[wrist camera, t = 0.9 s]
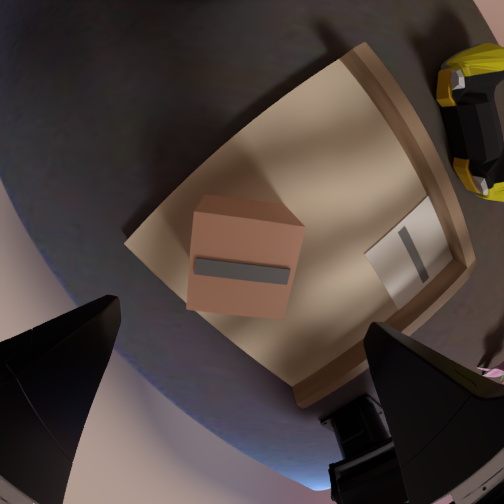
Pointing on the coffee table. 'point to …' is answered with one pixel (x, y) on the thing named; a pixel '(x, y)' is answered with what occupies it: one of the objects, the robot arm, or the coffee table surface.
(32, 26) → the coffee table surface
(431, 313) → the arena
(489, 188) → the gaming controller
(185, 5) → the coffee table surface
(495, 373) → the lily
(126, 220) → the coffee table surface
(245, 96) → the coffee table surface
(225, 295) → the cube
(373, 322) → the robot arm
